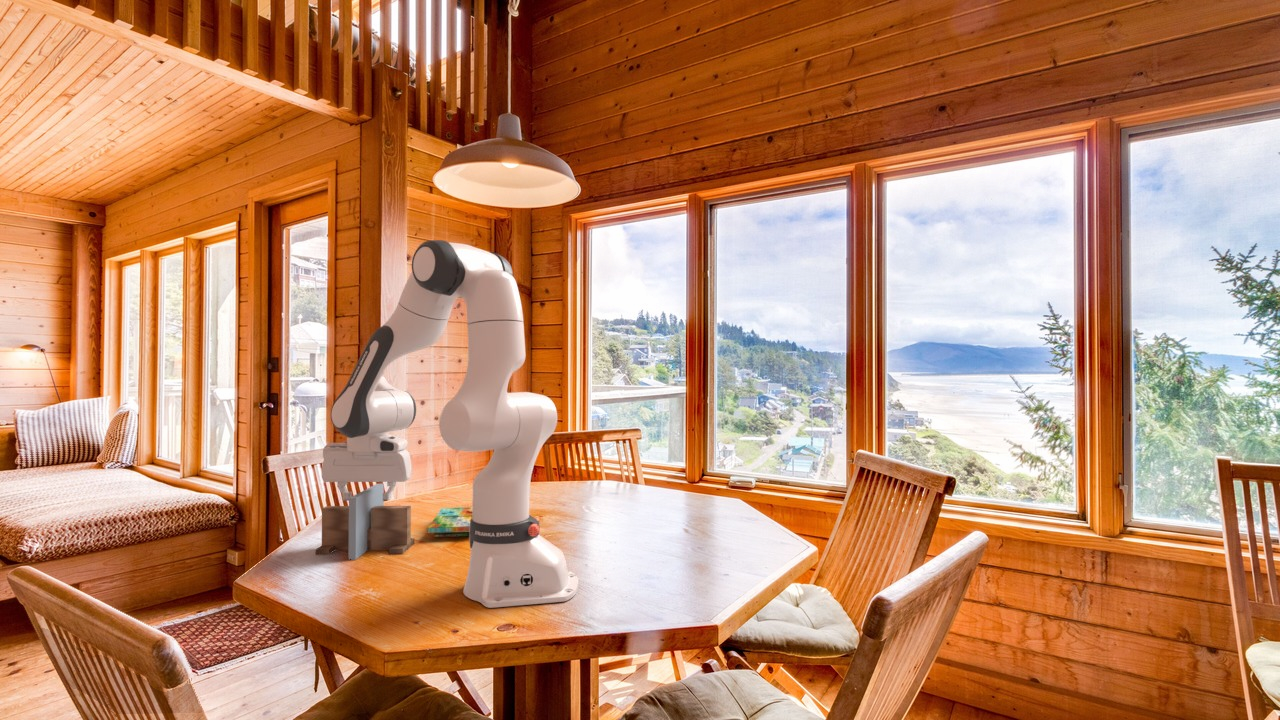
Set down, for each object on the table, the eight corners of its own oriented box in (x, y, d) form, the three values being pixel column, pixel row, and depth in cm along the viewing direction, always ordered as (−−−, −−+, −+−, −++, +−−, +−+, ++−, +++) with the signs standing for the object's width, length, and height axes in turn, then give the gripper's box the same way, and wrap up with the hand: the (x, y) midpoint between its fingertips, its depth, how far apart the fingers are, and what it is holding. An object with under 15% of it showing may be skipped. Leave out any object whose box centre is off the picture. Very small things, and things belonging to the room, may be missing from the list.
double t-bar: (414, 543, 147) (414, 503, 147) (402, 553, 139) (403, 511, 139) (332, 543, 147) (332, 503, 147) (315, 554, 139) (316, 511, 139)
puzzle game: (484, 503, 170) (475, 522, 151) (484, 520, 170) (475, 541, 151) (442, 505, 169) (427, 524, 149) (442, 521, 169) (427, 543, 149)
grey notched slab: (355, 559, 135) (356, 498, 135) (348, 559, 135) (348, 498, 135) (383, 538, 151) (383, 483, 151) (376, 538, 151) (377, 483, 151)
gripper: (316, 444, 140) (316, 503, 139) (405, 444, 140) (404, 503, 140) (329, 440, 146) (329, 497, 146) (414, 440, 147) (413, 496, 147)
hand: (366, 500), depth 143 cm, fingers open, 8 cm apart
